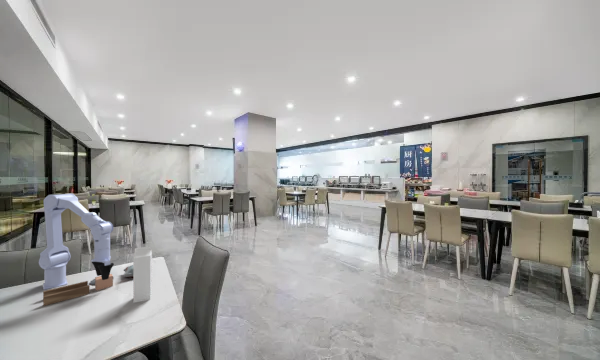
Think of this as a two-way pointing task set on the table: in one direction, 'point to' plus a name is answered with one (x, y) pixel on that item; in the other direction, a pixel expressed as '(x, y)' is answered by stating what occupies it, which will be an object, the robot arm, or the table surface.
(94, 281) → the coaster
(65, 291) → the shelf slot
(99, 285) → the block
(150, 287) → the milk
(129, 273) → the packaged food
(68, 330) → the table surface
